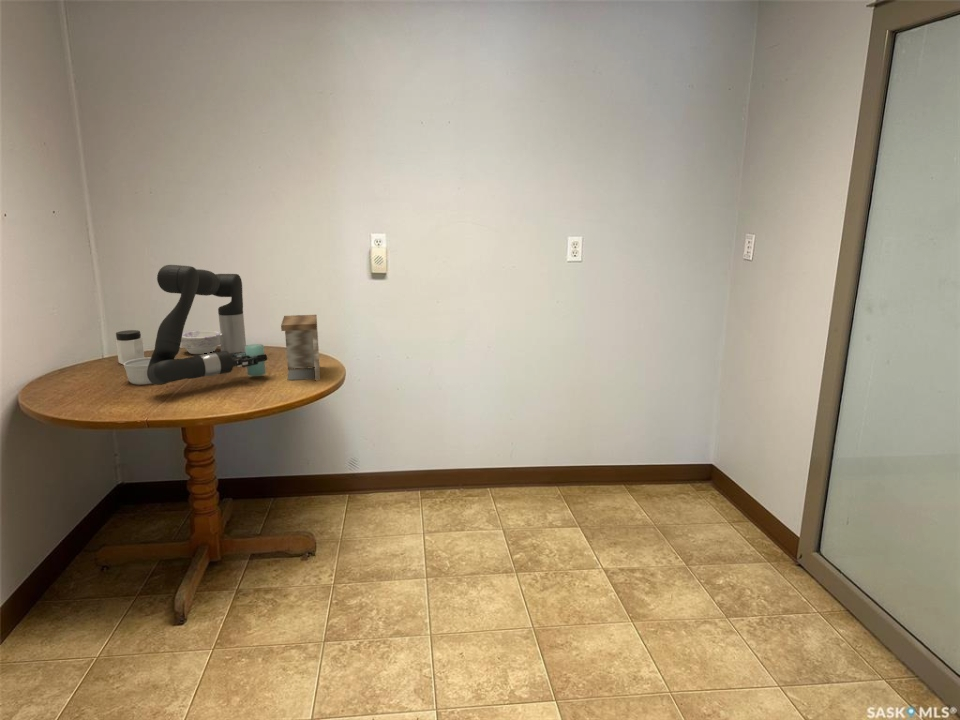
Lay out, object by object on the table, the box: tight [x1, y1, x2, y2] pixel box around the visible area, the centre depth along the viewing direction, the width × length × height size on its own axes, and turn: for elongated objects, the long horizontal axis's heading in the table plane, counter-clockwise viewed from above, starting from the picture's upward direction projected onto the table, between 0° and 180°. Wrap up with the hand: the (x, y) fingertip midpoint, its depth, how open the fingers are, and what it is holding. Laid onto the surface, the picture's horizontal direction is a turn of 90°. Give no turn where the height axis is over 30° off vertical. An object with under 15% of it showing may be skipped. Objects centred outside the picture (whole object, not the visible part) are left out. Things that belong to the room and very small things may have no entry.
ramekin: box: [123, 356, 153, 386], centre depth 203 cm, size 13×13×7 cm
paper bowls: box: [180, 330, 221, 355], centre depth 245 cm, size 15×15×8 cm
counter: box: [280, 314, 321, 381], centre depth 211 cm, size 12×20×20 cm, turn 15°
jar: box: [115, 329, 146, 366], centre depth 227 cm, size 9×8×12 cm
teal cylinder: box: [245, 343, 266, 377], centre depth 206 cm, size 6×6×10 cm
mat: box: [286, 368, 315, 381], centre depth 212 cm, size 9×14×1 cm, turn 15°
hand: (261, 355), depth 208 cm, fingers closed on teal cylinder, 6 cm apart
